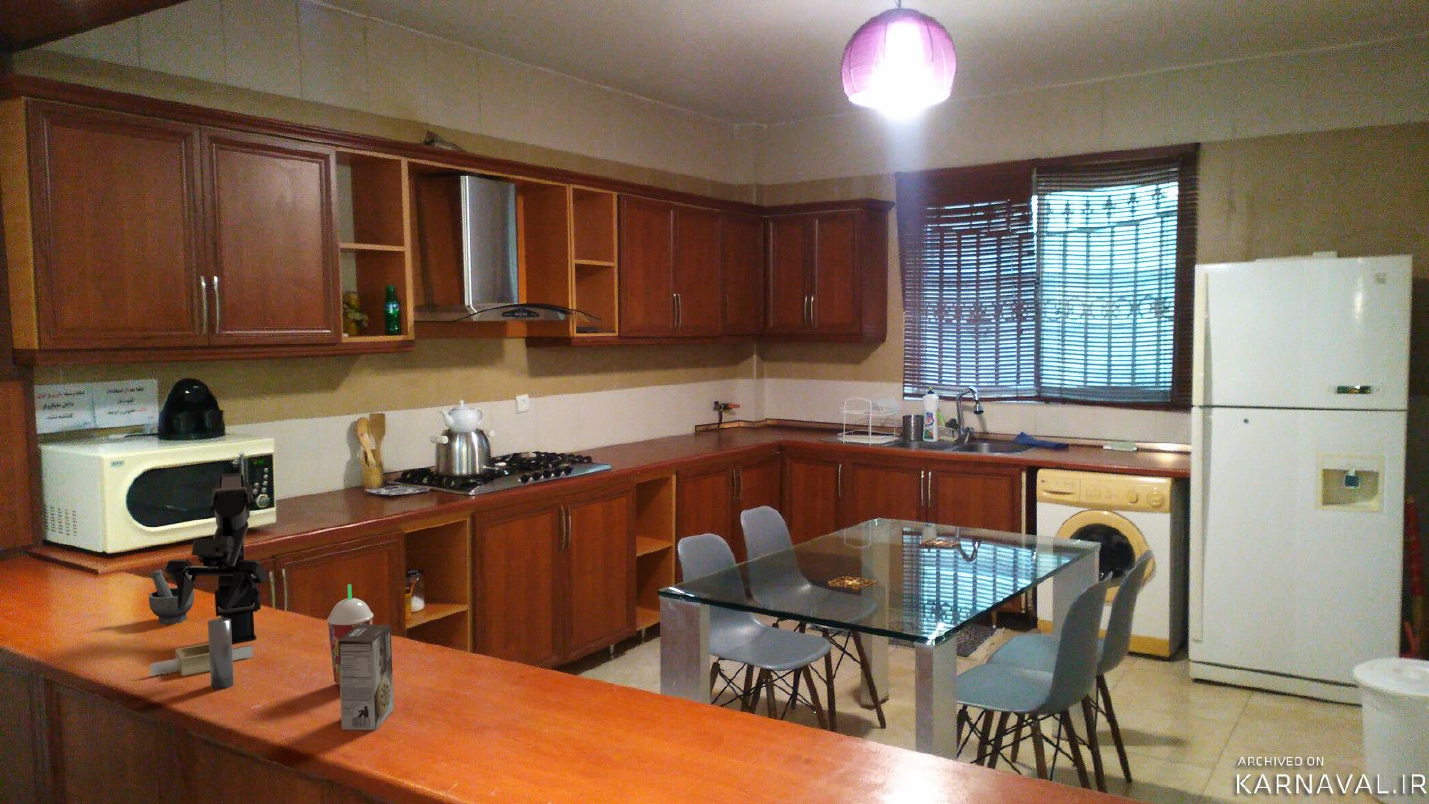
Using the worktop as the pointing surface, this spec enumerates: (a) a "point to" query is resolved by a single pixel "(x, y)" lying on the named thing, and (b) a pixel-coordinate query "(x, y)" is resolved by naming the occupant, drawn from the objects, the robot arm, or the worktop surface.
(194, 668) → the bracket
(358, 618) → the smoothie
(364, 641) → the coffee box
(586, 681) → the worktop surface
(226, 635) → the hinge pin
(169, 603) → the mortar and pestle
